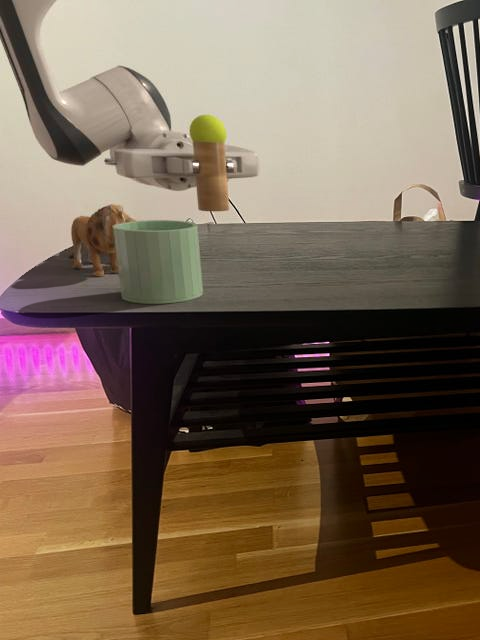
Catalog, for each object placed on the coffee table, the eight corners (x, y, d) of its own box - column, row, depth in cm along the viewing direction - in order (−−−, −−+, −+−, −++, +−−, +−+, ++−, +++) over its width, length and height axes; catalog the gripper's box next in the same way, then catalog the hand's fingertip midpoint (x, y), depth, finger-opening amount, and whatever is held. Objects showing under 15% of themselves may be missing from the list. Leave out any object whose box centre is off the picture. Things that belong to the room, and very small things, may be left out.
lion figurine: (150, 275, 91) (142, 204, 88) (110, 281, 86) (100, 207, 84) (88, 259, 98) (79, 194, 95) (48, 265, 94) (37, 196, 91)
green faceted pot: (126, 307, 76) (117, 232, 73) (117, 290, 82) (108, 221, 80) (210, 299, 80) (204, 229, 77) (195, 284, 87) (189, 219, 84)
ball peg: (200, 212, 98) (191, 114, 94) (192, 208, 102) (184, 113, 98) (235, 211, 101) (228, 115, 96) (226, 207, 104) (220, 115, 100)
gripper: (96, 137, 100) (134, 142, 91) (232, 140, 114) (276, 145, 105) (102, 183, 102) (140, 192, 93) (234, 180, 116) (278, 188, 107)
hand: (213, 167), depth 99 cm, fingers closed on ball peg, 4 cm apart
